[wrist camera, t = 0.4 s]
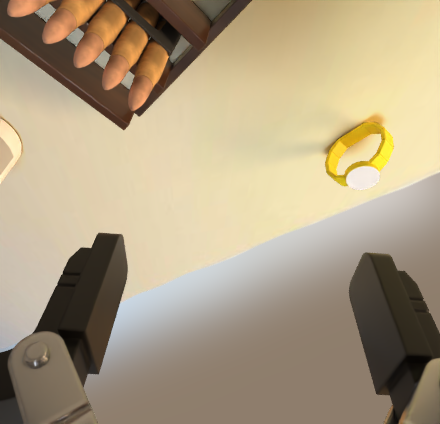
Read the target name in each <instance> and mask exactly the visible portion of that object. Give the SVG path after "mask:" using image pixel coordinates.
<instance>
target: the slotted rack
mask: <svg viewBox="0 0 440 424" xmlns="http://www.w3.org/2000/svg"><path fill="white" fill-rule="evenodd" d="M9 1H10V0H0V39H2V40H3V41H5V42H6V43H7V44H9V45H10V46H11V47H13V48H14V49H15V50H17V51H18V52H19V53H21V54H22V55H23V56H25V57H26V58H27V59H29V60H30V61H31V62H33V63H34V64H35V65H37V66H38V67H39V68H41V69H42V70H43V71H45V72H46V73H48V74H49V75H50V76H52V77H53V78H54V79H56V80H57V81H58V82H60V83H61V84H62V85H64V86H65V87H66V88H68V89H69V90H70V91H72V92H73V93H74V94H76V95H77V96H78V97H80V98H81V99H82V100H84V101H85V102H86V103H88V104H89V105H91V106H92V107H93V108H95V109H96V110H97V111H99V112H100V113H101V114H103V115H104V116H105V117H107V118H108V119H109V120H111V121H112V122H113V123H115V124H116V125H117V126H119V127H120V128H121V129H123V130H125V129H126V128H127V127H128V126H129V124H130V121H131V119H132V117H133V115H134V113H135V114H137V115H138V116H139V117H140V116H141V115H142V114H143V113H144V112H145V111H146V110H147V109H148V108H149V107H150V106H151V105H152V104H153V102H154V101H155V100H156V99H157V98H158V97H159V96H160V95H161V94H162V93H163V92H164V91H165V90H166V89H167V88H168V87H169V86H170V85H171V84H172V83H173V82H174V81H175V80H176V79H177V78H178V77H179V76H180V75H181V73H182V72H183V71H184V70H185V69H186V68H187V67H188V66H189V65H190V64H191V63H192V62H193V61H194V60H195V59H196V58H197V57H198V56H199V55H200V54H201V53H202V52H203V51H204V50H205V49H206V48H207V47H208V45H209V44H210V43H211V42H212V41H213V40H214V39H215V38H216V37H217V36H218V35H219V34H220V33H221V32H222V31H223V30H224V29H225V28H226V27H227V26H228V25H229V24H230V23H231V22H232V21H233V20H234V19H235V18H236V16H237V15H238V14H239V13H240V12H241V11H242V10H243V9H244V8H245V7H246V6H247V5H248V4H249V3H250V2H251V1H252V0H232V1H231V2H230V3H229V4H228V5H227V6H226V8H225V9H224V10H223V11H222V12H221V13H220V14H219V15H218V16H217V17H216V18H215V19H214V20H213V22H212V23H211V21H210V20H209V18H208V17H207V16H206V15H205V14H204V13H203V12H202V11H201V10H200V9H199V8H198V7H197V6H196V5H195V4H194V3H193V2H192V1H191V0H146V1H147V2H148V3H149V4H150V5H151V6H152V7H153V8H154V9H155V10H156V11H157V12H159V13H160V14H161V15H162V16H163V17H164V18H165V19H166V20H167V21H168V22H169V23H170V24H171V25H172V26H173V27H174V28H175V29H176V30H177V31H178V32H179V33H180V34H181V35H182V36H183V37H184V38H185V39H186V40H187V41H188V42H189V43H190V44H191V45H190V46H189V47H188V49H187V50H186V51H185V52H184V53H183V54H182V55H181V56H180V57H179V58H178V59H177V60H176V62H175V63H174V64H172V63H171V62H170V61H169V60H167V63H166V65H165V67H164V70H163V72H162V75H161V77H160V79H159V81H158V82H157V83H156V84H155V85H154V87H153V89H152V91H151V92H150V95H149V96H148V98H147V100H146V101H145V102H144V104H143V105H142V106H141V107H139V108H138V109H136V110H134V111H131V110H130V108H129V104H128V98H129V90H128V89H127V88H126V87H124V86H123V85H122V84H121V83H119V84H118V85H116V86H115V87H114V88H112V89H110V90H104V89H103V86H102V77H103V72H104V70H103V69H102V68H101V67H100V66H98V65H97V64H96V63H95V62H92V63H90V64H89V65H87V66H85V67H82V68H76V67H75V66H74V54H75V51H76V47H75V46H74V45H73V44H71V43H70V42H69V41H68V40H66V39H65V38H64V39H63V40H61V41H59V42H56V43H53V44H46V43H44V42H43V39H42V34H43V30H44V27H45V25H46V23H45V22H44V21H43V20H42V19H40V18H39V17H38V16H37V15H36V14H34V13H31V14H29V15H26V16H22V17H11V16H9V15H8V13H7V8H8V4H9ZM61 1H62V0H56V1H53V2H49V4H51V5H52V6H53V7H54V8H55V9H58V7H59V6H60V4H61ZM105 3H106V2H104V3H103V4H102V5H101V6H100V8H99V9H98V10H100V9H101V8H102V7H103V5H104V4H105ZM93 18H94V17H93V16H92V17H91V18H90V19H89V20H88V21H87V22H86V23H85V24H83V25H81V26H78V28H79V29H80V30H81V31H83V32H84V33H85V32H86V31H87V28H88V25H89V23H90V21H91V20H92V19H93ZM127 24H128V23H126V24H125V26H124V27H123V28H122V31H123V30H124V28H125V27H126V25H127ZM117 39H118V38H117V37H116V39H115V40H114V42H113V43H112V44H110V45H109V46H108V47H106V48H105V49H104V50H105V51H106V52H108V53H109V54H110V55H111V54H112V49H113V47H114V44H115V42H116V41H117ZM147 44H148V42H147V43H146V45H145V47H146V46H147ZM145 47H144V48H145ZM139 60H140V57H139V59H138V60H137V62H136V63H135V64H134V65H133V66H132V67H131V68H130V70H129V71H130V72H131V73H133V74H134V75H135V73H136V67H137V64H138V62H139Z"/></svg>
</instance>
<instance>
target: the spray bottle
mask: <svg viewBox="0 0 440 424" xmlns="http://www.w3.org/2000/svg"><path fill="white" fill-rule="evenodd" d="M21 148H22V144H21V142H20V139H19V136H18V135H17V134H16V132H15V131H14V130H13V128H12V127H11V126H10V125H8V124H7V123H6V122H5V121H4V120H2V119H1V118H0V184H1V183H2V181H3V180H4V178H5V177H6V176H7V174H8V173H9V171H10V170H11V169H12V167H13V166H14V164H15V163H16V162H17V160H18V159H19V157H20V155H21Z"/></svg>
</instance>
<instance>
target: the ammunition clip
mask: <svg viewBox="0 0 440 424" xmlns="http://www.w3.org/2000/svg"><path fill="white" fill-rule="evenodd" d="M53 1H56V0H10V1H9V4H8V8H7V13H8V15H9V16H11V17H22V16H26V15H29V14H31V13H33V12H35V11H37V10H38V9H40V8H41V7H43V6H45V5H46V4H48V3H49V2H53ZM105 1H106V0H62V1H61V4H60V6H59V7H58V9H57V10H56V11H55V13H54V14H53V15H52V16H51V17H50V18H49V20H48V21H47V23H46V25H45V27H44V30H43V34H42V39H43V42H44V43H46V44H53V43H56V42H59V41H61V40H63V39H64V38H66V37H67V36H68V35H69V34H70V33H71V32H72V31H74V30H75V29H76V28H77V27H78V26H81V25H83V24H85V23H86V22H87V21H88V20H89V19H90V18H91V17H92V16H93V17H94V18H93V19H92V20H91V21H90V23H89V25H88V28H87V31H86V32H85V34H84V36H83V38H82V39H81V40H80V42H79V44H78V46H77V48H76V51H75V54H74V66H75V67H76V68H82V67H85V66H87V65H89V64H90V63H92V62H93V61H94V60H95V59H96V58H97V57H98V56H99V55H100V53H101V52H102V51H103V50H104V49H105V48H106V47H108V46H109V45H110V44H112V43H113V42H114V40H115V39H116V37H117V38H118V39H117V41H116V42H115V44H114V47H113V49H112V54H111V56H110V58H109V61H108V63H107V65H106V67H105V69H104V72H103V77H102V86H103V89H104V90H110V89H112V88H114V87H115V86H116V85H118V84H119V83H120V82H121V81H122V80H123V78H124V77H125V75H126V73H127V72H128V71H129V70H130V68H131V67H132V66H133V65H134V64H135V63H136V62H137V60H138V59H139V57H140V60H139V62H138V64H137V67H136V73H135V77H134V79H133V83H132V85H131V88H130V91H129V98H128V104H129V108H130V110H131V111H134V110H136V109H138V108H139V107H141V106H142V105H143V104H144V102H145V101H146V100H147V98H148V96H149V95H150V92H151V91H152V89H153V87H154V85H155V84H156V83H157V82H158V81H159V79H160V77H161V75H162V72H163V70H164V67H165V65H166V63H167V60H168V58H169V56H170V55H171V54H172V52H173V50H174V48H175V46H176V44H177V43H178V41H179V39H180V37H181V34H180V33H179V32H178V31H177V30H176V29H175V28H174V27H173V26H172V25H171V24H170V23H169V22H168V21H167V20H166V19H165V18H164V17H163V16H162V15H161V14H160V13H159V12H157V11H156V10H155V9H154V8H153V7H152V6H151V5H150V4H149V3H148V2H147V1H146V0H108V1H107V2H106V3H105V4H104V5H103V7H102V8H101V9H100V10H98V9H99V8H100V6H101V5H102V4H103V3H104V2H105ZM129 18H131V19H130V20H129ZM128 20H129V22H128V24H127V25H126V27H125V28H124V30H123V31H122V28H123V27H124V26H125V24H126V23H127V21H128ZM150 36H151V38H150ZM149 38H150V40H149ZM148 40H149V42H148ZM147 42H148V44H147V46H146V47H145V45H146V43H147ZM144 47H145V48H144Z"/></svg>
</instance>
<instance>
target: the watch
mask: <svg viewBox="0 0 440 424" xmlns="http://www.w3.org/2000/svg"><path fill="white" fill-rule="evenodd" d="M370 134H381V139H382V141H381V143H380V146H379V148H378V150H377V153H376V154H375V155H374V156H373V157H372V158H371V159H370V160H369V161H360V162H356V163H354V164H352V165H351V166H349V167H348V168H347V170H346V171H345V174H344V175H337V171H336V168H337V165H338V162H339V159H340V157H341V156H342V155H343V153H344V152H345V151H346V149H347V148H348V147H350V146H352V145H353V144H355V143H357V142H358V141H360V140H362V139H363V138H365V137H367V136H368V135H370ZM393 148H394V145H393V137H392V136H391V134H390V133H389V132H388V131H387V130H386V129H385V128H384V127H383V126H381V125H380V124H379V123H376V122H367V123H362V125H360V126H359V127H357V128H356V129H354V130H352V131H351V132H349V133H348V134H346V135H344V136H343V137H341V138H340V139H338V140H337V141H336V142H335V143H334V145H333V146H332V148H331V149H330V151H329V153H328V156H327V159H326V162H325V167H326V172H327V174H328V175H329V176H330V177H331V178H333V179H334V180H335V181H336V182H338V183H339V184H340V185H342V186H349V187H350V188H352V189H356V190H364V189H368V188H371V187H373V186H374V185H376V184H377V182H378V181H379V179H380V172H379V171H380V170H381V169H382V168H383V167H384V166H385V165H386V164H387V162H388V160H389V158H390V156H391V153H392V151H393Z"/></svg>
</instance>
